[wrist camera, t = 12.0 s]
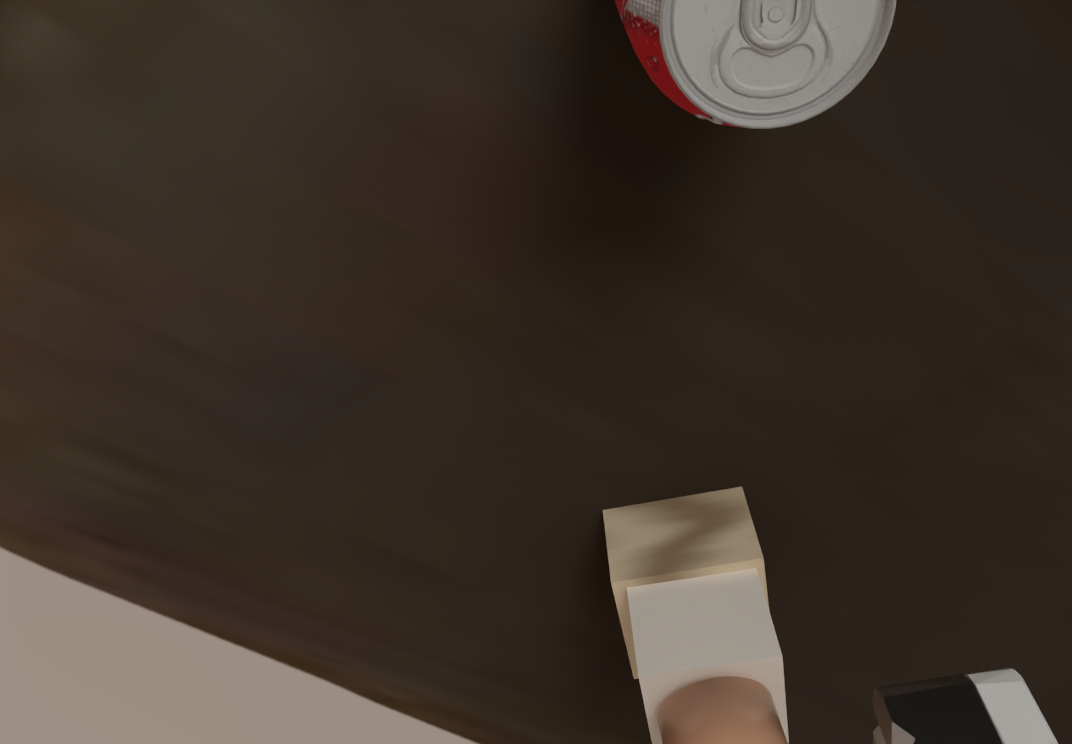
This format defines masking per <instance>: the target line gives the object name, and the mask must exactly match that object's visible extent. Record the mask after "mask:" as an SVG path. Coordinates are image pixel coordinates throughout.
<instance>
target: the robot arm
mask: <svg viewBox="0 0 1072 744" xmlns="http://www.w3.org/2000/svg"><path fill="white" fill-rule="evenodd" d="M873 709H874V712H875V715H876V718H877V720H878V723H879V726H878V727H877V728H876V729H875V730H874V731H873V742H874V744H1058V742H1057V740H1056V739H1055V737H1054V735H1053V733H1052V731H1051V729H1050V728H1049V726H1048V724H1047V722H1046V720H1045V718H1044V716H1043V715H1042V713H1041V711H1040V709H1039V707H1038V705H1037V704H1036V702H1035V700H1034V698H1033V696H1032V694H1031V693H1030V691H1029V689H1028V687H1027V685H1026V683H1025V681H1024V680H1023V678H1022V676H1021V675H1020V674H1018V673H1017V672H1016V671H1015V670H1014V669H1011V668H1004V669H998V670H992V671H986V672H980V673H974V674H968V675H963V674H957V675H951V676H944V677H938V678H932V679H926V680H919V681H913V682H907V683H900V684H894V685H888V686H881V687H875V690H874V692H873Z"/></svg>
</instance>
